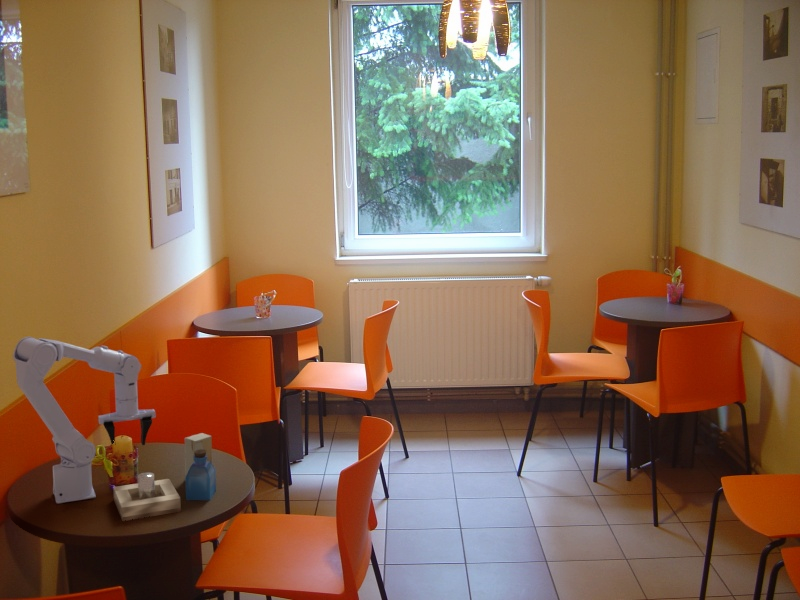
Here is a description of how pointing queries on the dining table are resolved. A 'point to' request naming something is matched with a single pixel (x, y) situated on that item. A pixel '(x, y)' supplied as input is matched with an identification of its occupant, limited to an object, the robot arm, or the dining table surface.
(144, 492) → the metal pin
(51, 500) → the dining table surface
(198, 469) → the perfume bottle
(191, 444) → the skincare box
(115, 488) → the socket block
